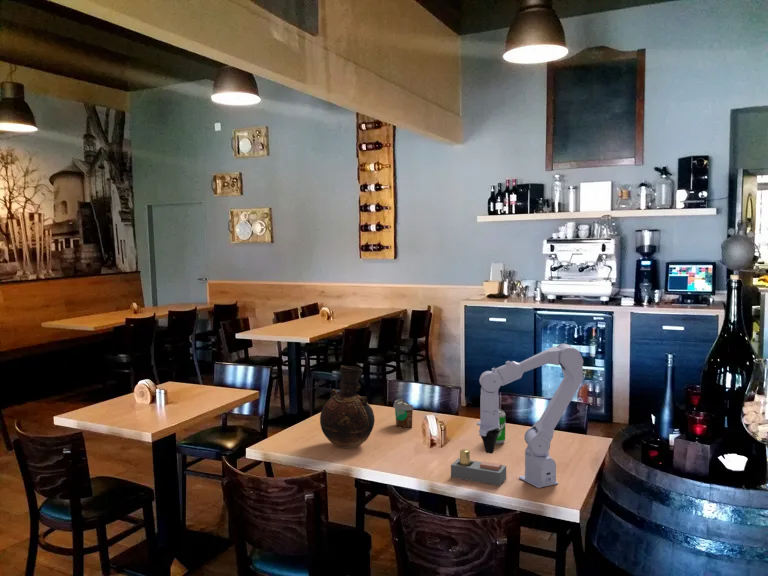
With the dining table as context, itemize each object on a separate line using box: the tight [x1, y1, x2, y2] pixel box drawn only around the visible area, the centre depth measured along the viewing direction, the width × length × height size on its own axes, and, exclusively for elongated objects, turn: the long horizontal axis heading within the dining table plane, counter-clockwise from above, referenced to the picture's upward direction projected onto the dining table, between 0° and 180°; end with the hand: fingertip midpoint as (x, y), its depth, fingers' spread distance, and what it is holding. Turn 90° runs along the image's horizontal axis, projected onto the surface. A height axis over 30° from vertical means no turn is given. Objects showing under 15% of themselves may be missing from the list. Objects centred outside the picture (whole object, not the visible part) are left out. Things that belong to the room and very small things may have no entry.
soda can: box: [495, 408, 506, 445], centre depth 228 cm, size 8×8×12 cm
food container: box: [392, 398, 414, 429], centre depth 250 cm, size 12×6×10 cm, turn 17°
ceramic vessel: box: [319, 365, 376, 449], centre depth 224 cm, size 21×18×30 cm
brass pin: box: [459, 448, 471, 467], centre depth 193 cm, size 3×3×8 cm
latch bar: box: [480, 461, 502, 470], centre depth 189 cm, size 6×3×1 cm, turn 63°
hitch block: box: [450, 457, 507, 487], centre depth 191 cm, size 16×7×4 cm, turn 63°
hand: (489, 452), depth 189 cm, fingers closed
